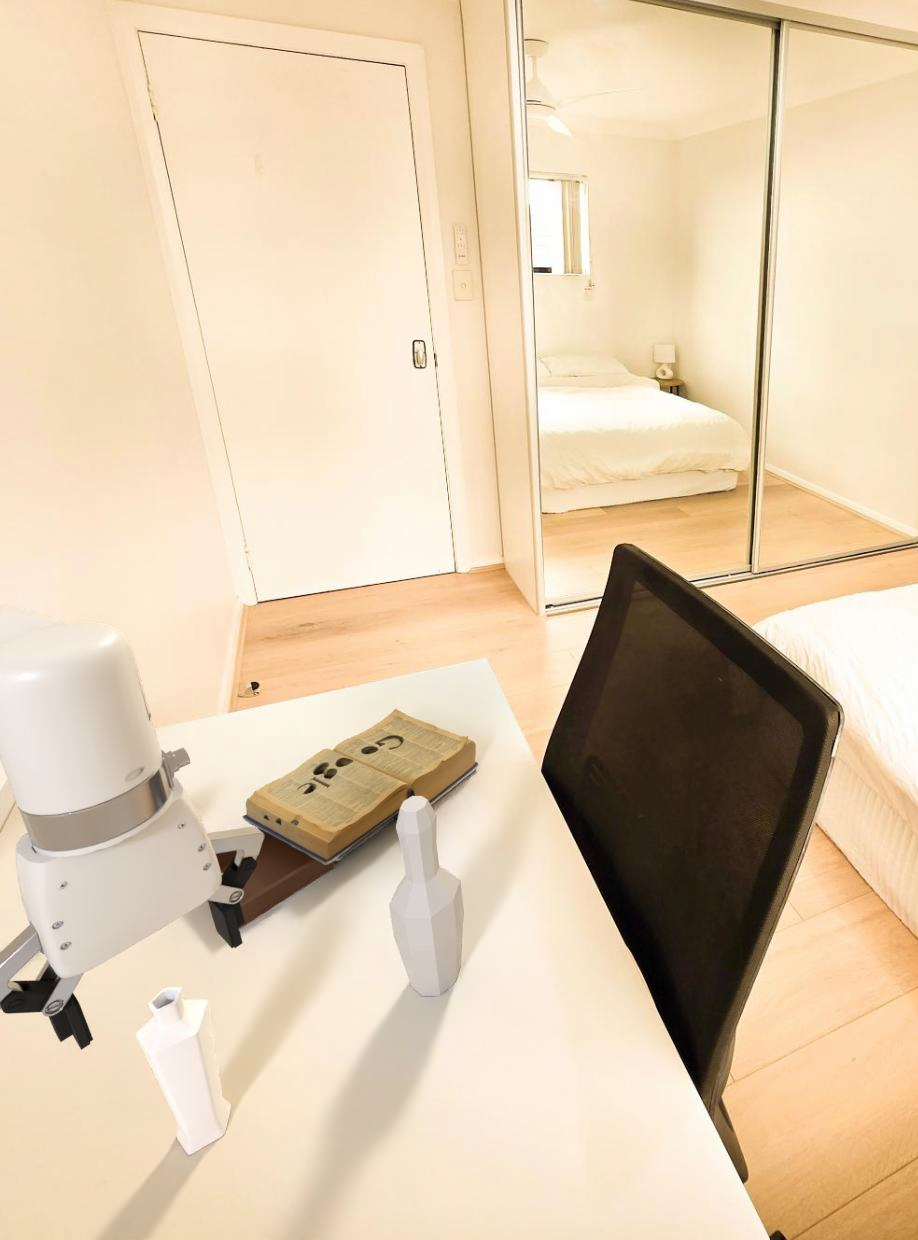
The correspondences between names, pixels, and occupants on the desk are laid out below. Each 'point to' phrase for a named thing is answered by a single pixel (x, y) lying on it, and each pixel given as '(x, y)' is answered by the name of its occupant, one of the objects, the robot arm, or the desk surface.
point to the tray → (275, 875)
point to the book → (360, 786)
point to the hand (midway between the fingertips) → (160, 982)
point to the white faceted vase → (186, 1066)
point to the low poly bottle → (426, 904)
